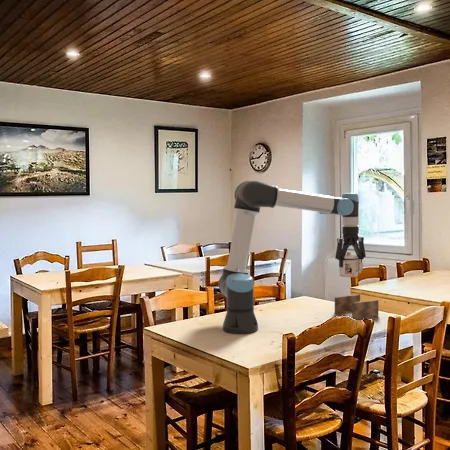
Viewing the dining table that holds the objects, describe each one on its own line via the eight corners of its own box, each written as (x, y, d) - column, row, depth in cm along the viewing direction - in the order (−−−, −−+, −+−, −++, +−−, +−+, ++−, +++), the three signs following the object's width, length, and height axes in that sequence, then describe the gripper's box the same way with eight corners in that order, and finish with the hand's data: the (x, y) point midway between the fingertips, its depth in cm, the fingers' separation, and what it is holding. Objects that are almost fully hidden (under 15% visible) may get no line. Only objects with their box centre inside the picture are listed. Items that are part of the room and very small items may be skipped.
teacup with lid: (335, 276, 256) (335, 251, 255) (345, 273, 262) (345, 249, 262) (358, 278, 248) (357, 253, 247) (367, 276, 254) (367, 251, 253)
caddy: (353, 320, 245) (353, 303, 244) (334, 313, 259) (334, 297, 258) (378, 317, 250) (378, 300, 250) (358, 310, 264) (358, 294, 263)
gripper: (363, 224, 261) (363, 270, 262) (327, 226, 252) (327, 274, 254) (373, 225, 254) (373, 272, 255) (336, 227, 245) (336, 276, 247)
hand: (350, 273), depth 255 cm, fingers closed on teacup with lid, 8 cm apart
